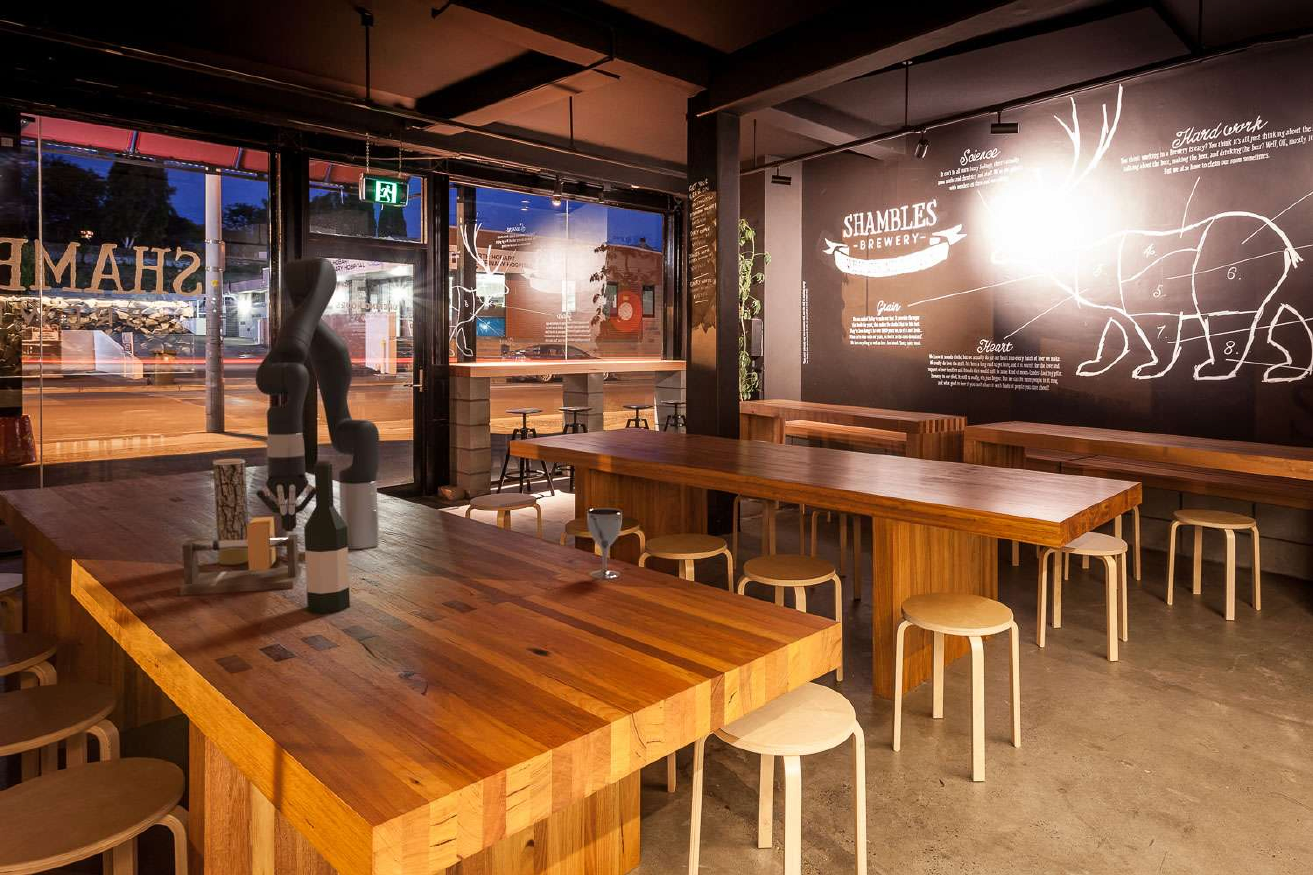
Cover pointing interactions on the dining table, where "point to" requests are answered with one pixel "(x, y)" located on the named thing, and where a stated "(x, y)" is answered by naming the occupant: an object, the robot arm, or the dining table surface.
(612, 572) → the wine glass
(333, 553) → the wine bottle
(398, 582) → the dining table surface
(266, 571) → the pipe stand
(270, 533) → the collar
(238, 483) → the bark log section
